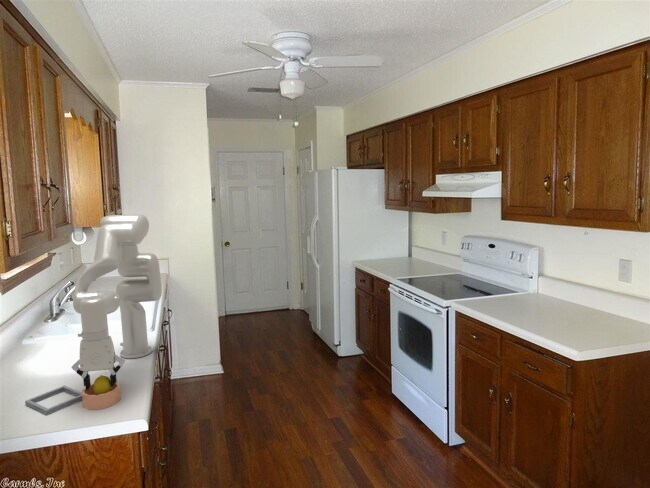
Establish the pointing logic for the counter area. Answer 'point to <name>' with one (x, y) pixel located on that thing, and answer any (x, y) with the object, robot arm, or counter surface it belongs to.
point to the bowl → (100, 397)
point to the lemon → (102, 385)
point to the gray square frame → (64, 388)
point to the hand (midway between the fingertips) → (100, 386)
